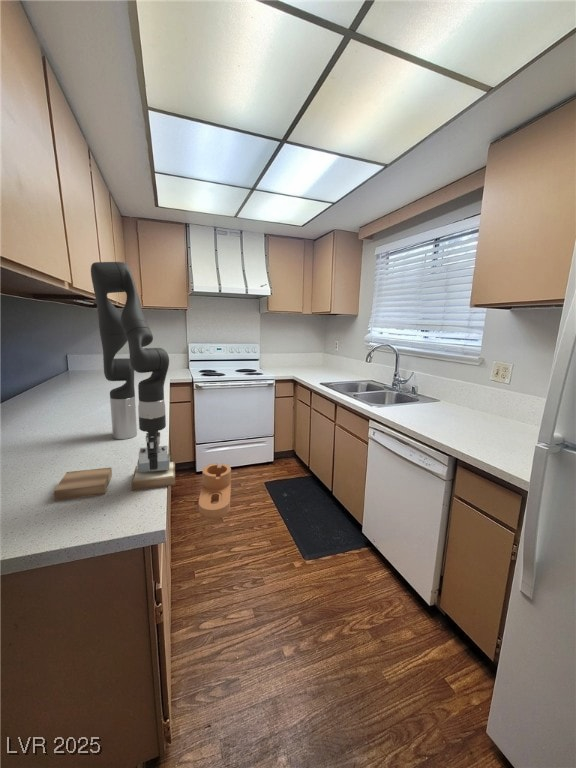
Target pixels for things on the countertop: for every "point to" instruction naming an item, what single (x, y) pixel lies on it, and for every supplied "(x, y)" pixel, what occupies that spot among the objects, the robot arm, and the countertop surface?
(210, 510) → the bracket
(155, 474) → the stand
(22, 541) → the countertop surface
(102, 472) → the stand
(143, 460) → the block
